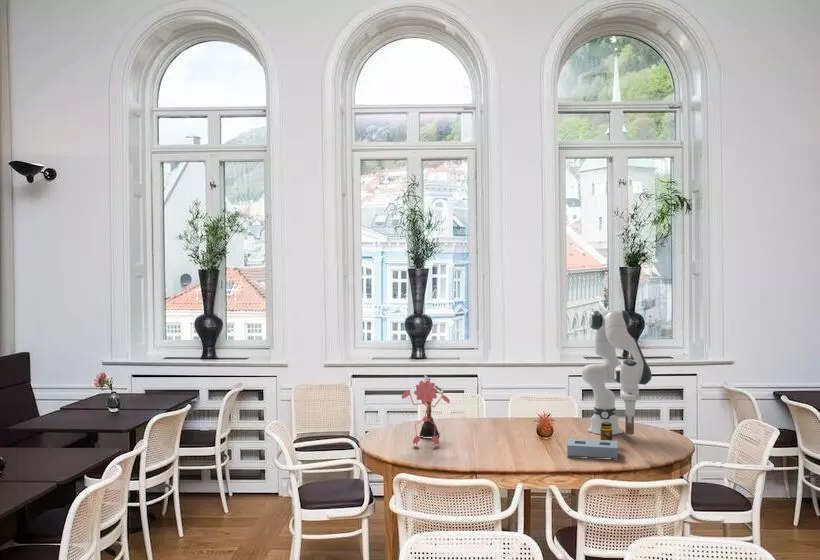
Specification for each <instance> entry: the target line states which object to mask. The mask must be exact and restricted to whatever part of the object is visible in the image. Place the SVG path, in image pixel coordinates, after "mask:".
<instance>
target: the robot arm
mask: <svg viewBox="0 0 820 560" xmlns="http://www.w3.org/2000/svg"><path fill="white" fill-rule="evenodd" d="M588 323H589V327H590V328H591V329H592V330H595V335H594V353H595V355H596V356H598V357H599V358H601V359H603V361H604V363H591V364H587V365H584V366H583V368H582V369H581V378H582V379H583V381H584V382H585V383H586V384H588V385H589V387H591V389H592V392H593V398H594V407H593V415H592V416H591V418H590V423H591V424H590V427H589V428H588V429H587V432H589V433H593V434H596V435H601V423H603V422H609V423H611V424H612V425H611V426H612V436H614V435H618V434H623V430H622V429H621V428H620V427H619V426H620V425H619V421H620V420H619V417H618V416H617V415H616V414H617V408H616V395H615V393H614V392H613V391H612V390H611V389H608V388H606V384H612V383H613V384H615V383H616V384H617V383H618V384H620V386H619V387H620V388H619V390H620V391H619V392H620V398H622V401H623V402H624V408H625V409H626V415H627V416H628V423H632V416H634V417H635V413H636V403H637V401H638V400H639V398H640V387H639V385H644V386H646V385H647V384H649V382H650V381H651V380H652V376H653V375H652V370H651V369H650V366H649V364H648V363H647V361H646V359H645V357H644V354H643V352H642V349H641V347H640V345H639V342H638V341H637V339H635V337H632V335H631V334H630V333H629V331H628V328H629V327H630V323H631V317H630V314H629V313H628V311H627V310H622V309H621V310H616V309H607V310H594V311H591V312H590V313H589V316H588ZM616 348H617V349H620V350H625V351H626V352H628V353H630V354H631V355H632V357H633V359H634V360H633V359H632V360H631V359H630V360H629V359H625V360H623V361H620V360H619V358H618V357H617V351H616ZM625 409H624V410H625Z"/></svg>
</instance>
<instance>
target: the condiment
mask: <svg viewBox="0 0 820 560" xmlns="http://www.w3.org/2000/svg"><path fill="white" fill-rule="evenodd" d="M611 425H612V424H611V423H609V422H603V423H601V434H600V440H610V441H614V440H613V435H612V426H611Z"/></svg>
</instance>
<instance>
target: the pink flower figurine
mask: <svg viewBox="0 0 820 560" xmlns="http://www.w3.org/2000/svg"><path fill="white" fill-rule="evenodd" d="M430 382H431V380H430V381H429V380H427V381H426V382H425V383H424V380H420V381H419V383H418V384H416V385H415V389H416V390H414V391H413V394H414V395H415V396H416V400H418V401H421V402H420V403H414V400H413V397H412V395H411V390H410V389H409V390H406V391H404V392H403V393H402V395H401V399H402V400H403V399H406V398H408V396H410V399H411V402H412V405H413V406H417V405H424V406H425V407H426V408H425V415H424V416H423V417H422V419H421V420H420V421H418V422H417V423H416V424H414V427H415V435H416V436H414V438H413V439H412V443H413V444H414V443H416V445H417V446H418V444H419V442H420V441H421V438H420V437H419V435H418V431H417V425H418V424H419V423H421V422H424V421H425V422H426V421H427V420H428V418H427V417H426V416H427V409H428V406H427V405H429V404H427V401H428V402H429V403H431V405H429V406H431V408H435V407H436V406H437V404H438V403H439V402H440V400H443V401H445V402H446V403H447V404H450V403H451V401H450V399H449V398H448V397H447V396H446V395H444V394H443V395H441V397H440V398H439V399H438V401H437V402H436V403H435V404H434V405H432V403H433V401H434V400H433V399H435V400H436V399H437V398H438V397H437V396H438V395H437V393H438V392H437V391H438V390H437V389H436V388H434V386H435V385H436V383H435V382H431V383H430ZM432 400H433V401H432ZM428 421H429V420H428ZM430 422H431V421H430ZM431 423H433V422H431ZM434 423H435V422H434ZM434 423H433V424H434ZM435 426H436V427H437V425H435ZM431 442H432V443H433V444H432V445H433V446H434V447H435V445H437V444H440V439H439V438H437V437H435V431H434V437H432V439H431ZM416 445H415V446H416Z"/></svg>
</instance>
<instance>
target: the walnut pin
mask: <svg viewBox="0 0 820 560" xmlns="http://www.w3.org/2000/svg"><path fill="white" fill-rule="evenodd" d="M624 410H625V411H624V412H625V415H624V416H625V419H624V420H625V423H624V424H625V435H630V436H632V435H634V434H635V415H634V416H632V423H628V416H627V415H626V409H624Z"/></svg>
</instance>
